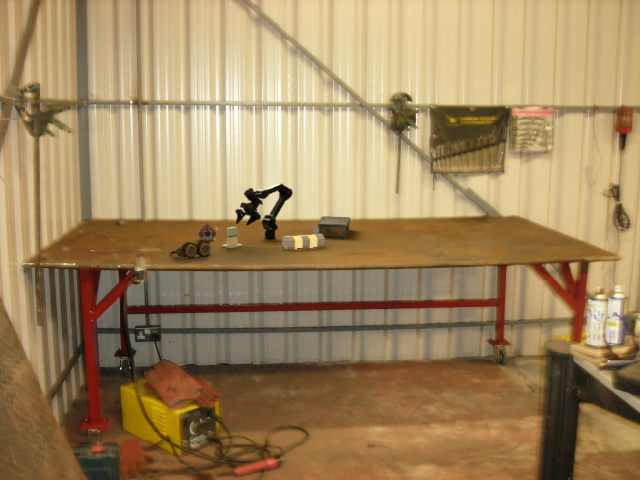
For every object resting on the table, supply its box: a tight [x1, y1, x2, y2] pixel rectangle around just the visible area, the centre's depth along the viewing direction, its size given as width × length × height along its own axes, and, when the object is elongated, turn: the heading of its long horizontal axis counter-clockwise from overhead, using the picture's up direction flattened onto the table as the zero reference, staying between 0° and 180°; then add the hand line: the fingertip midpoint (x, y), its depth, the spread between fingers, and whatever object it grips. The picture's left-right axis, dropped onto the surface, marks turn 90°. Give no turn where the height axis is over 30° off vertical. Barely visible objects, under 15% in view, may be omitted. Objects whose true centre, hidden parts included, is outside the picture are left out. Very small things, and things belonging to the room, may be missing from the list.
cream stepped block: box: [221, 235, 243, 249], centre depth 416 cm, size 10×8×6 cm
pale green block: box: [226, 226, 238, 237], centre depth 415 cm, size 7×2×5 cm, turn 141°
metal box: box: [317, 215, 351, 239], centre depth 463 cm, size 21×32×10 cm, turn 174°
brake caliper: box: [198, 223, 217, 242], centre depth 436 cm, size 11×11×12 cm
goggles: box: [170, 240, 212, 258], centre depth 392 cm, size 24×24×10 cm
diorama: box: [281, 225, 326, 250], centre depth 416 cm, size 25×10×13 cm, turn 112°
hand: (241, 224), depth 421 cm, fingers open, 9 cm apart
